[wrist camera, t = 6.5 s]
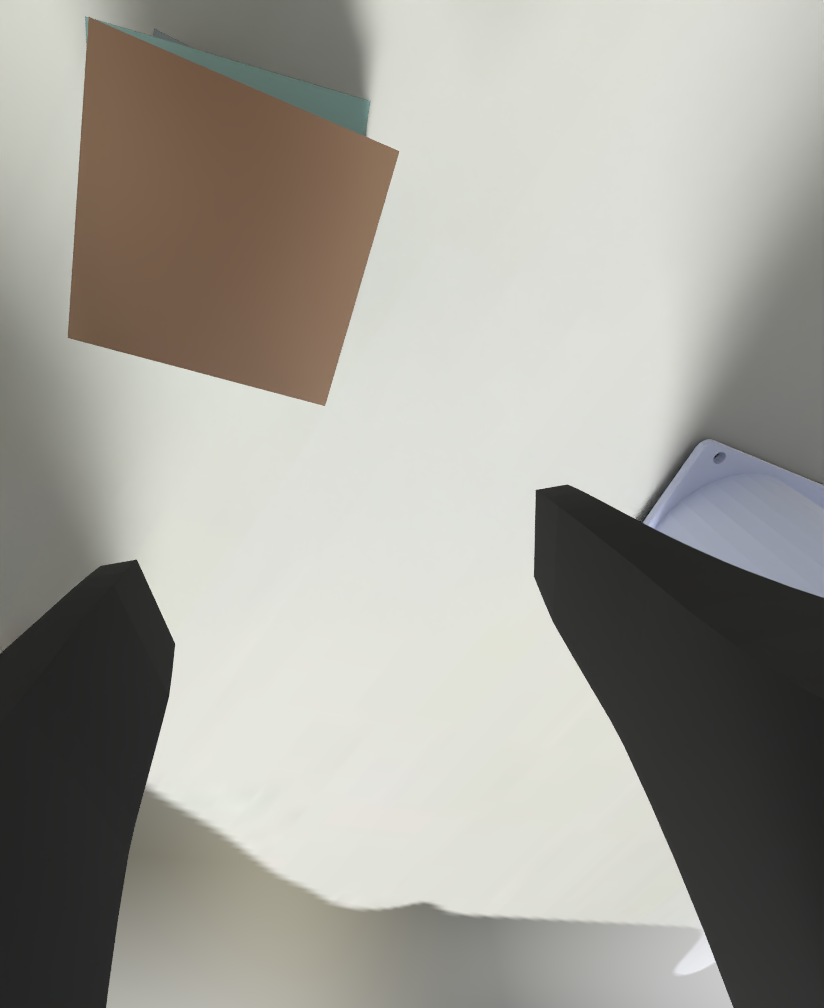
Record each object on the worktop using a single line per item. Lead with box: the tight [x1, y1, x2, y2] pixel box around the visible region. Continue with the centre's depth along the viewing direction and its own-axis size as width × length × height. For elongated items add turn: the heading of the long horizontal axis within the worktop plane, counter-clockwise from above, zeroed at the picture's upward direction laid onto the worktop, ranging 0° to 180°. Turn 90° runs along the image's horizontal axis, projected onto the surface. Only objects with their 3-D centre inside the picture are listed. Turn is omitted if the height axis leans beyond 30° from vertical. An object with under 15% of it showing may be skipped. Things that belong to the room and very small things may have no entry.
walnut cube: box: [68, 17, 399, 406], centre depth 10 cm, size 4×4×4 cm
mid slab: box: [85, 17, 370, 136], centre depth 13 cm, size 5×5×2 cm
